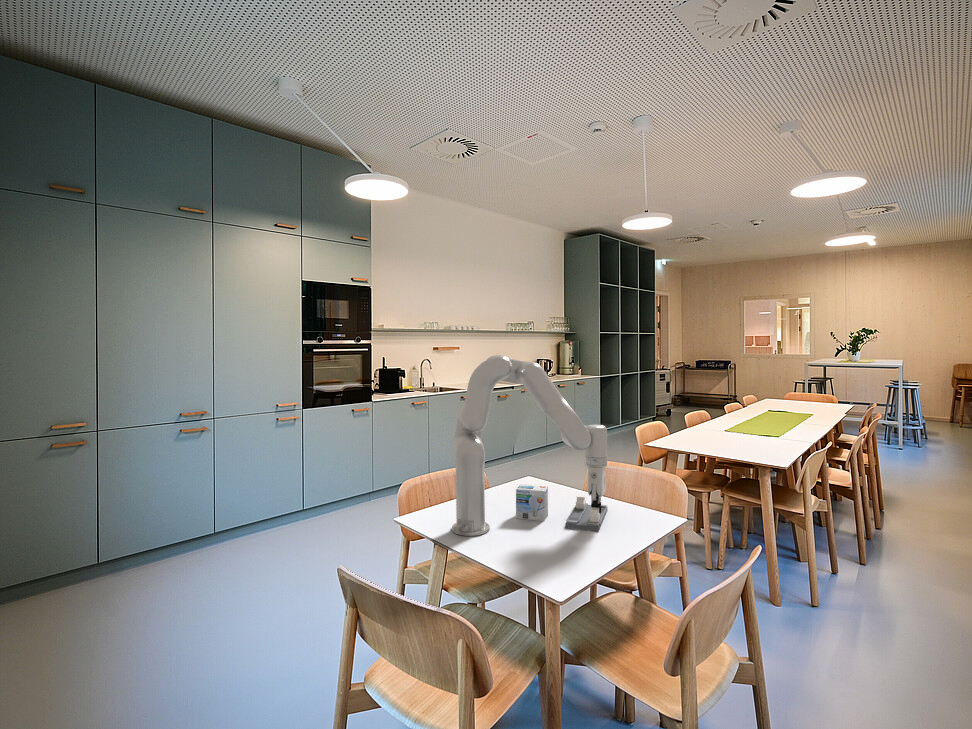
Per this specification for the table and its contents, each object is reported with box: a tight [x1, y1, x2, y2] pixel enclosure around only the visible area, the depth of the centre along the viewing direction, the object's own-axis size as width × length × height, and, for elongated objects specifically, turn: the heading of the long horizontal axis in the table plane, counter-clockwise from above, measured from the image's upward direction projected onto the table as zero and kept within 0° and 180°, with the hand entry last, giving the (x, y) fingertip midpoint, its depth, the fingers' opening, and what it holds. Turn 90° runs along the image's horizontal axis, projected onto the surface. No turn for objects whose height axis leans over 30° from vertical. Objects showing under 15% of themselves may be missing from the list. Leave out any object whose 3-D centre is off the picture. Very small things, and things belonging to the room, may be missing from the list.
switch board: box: [565, 502, 609, 533], centre depth 177 cm, size 23×11×2 cm, turn 159°
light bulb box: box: [515, 484, 549, 522], centre depth 180 cm, size 11×7×11 cm, turn 73°
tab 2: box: [589, 507, 600, 523], centre depth 170 cm, size 4×3×4 cm
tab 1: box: [575, 494, 587, 509], centre depth 184 cm, size 4×3×4 cm
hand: (596, 513), depth 173 cm, fingers closed
